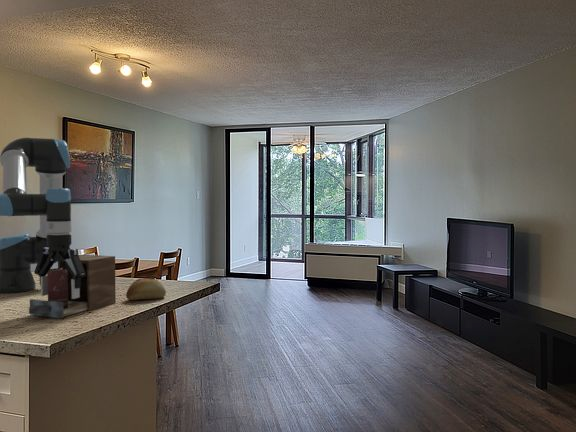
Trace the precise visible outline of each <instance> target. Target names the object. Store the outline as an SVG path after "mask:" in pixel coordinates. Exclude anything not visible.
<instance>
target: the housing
mask: <svg viewBox="0 0 576 432" xmlns="http://www.w3.org/2000/svg"><path fill="white" fill-rule="evenodd" d="M78 255H79V254H78ZM79 258H80V260H81V263H82V266H83V268H84V271H85V273H86V276H84V277H82V278H81V287H80V297H79V298H75V299H72V286H71V279H73V276H72V275H71V273H70V272H69V270H68V269H67V267H66V266H65V264H64V263H62V262H57V268H66V270H67V271H68V301H76V302H87V303H88V310H87V311H88V312H92V311H94V310H97V309H101V308H104V307H107V306H111V305H114V304H117V303H116V294H117V293H116V255H114V256H113V255H98V254H81V255H79Z"/></svg>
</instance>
